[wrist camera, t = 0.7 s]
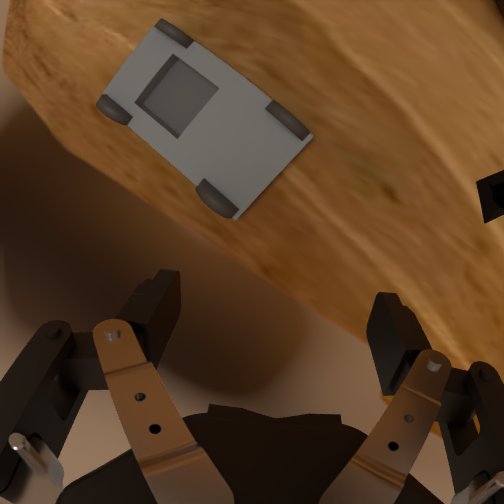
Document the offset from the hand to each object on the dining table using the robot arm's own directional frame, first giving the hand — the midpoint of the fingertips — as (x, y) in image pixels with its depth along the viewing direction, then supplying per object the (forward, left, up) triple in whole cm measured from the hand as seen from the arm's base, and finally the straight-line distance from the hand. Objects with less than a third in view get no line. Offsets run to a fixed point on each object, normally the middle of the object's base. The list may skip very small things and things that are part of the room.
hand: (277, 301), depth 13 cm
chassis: (-12, -6, -24) cm, 28 cm away
